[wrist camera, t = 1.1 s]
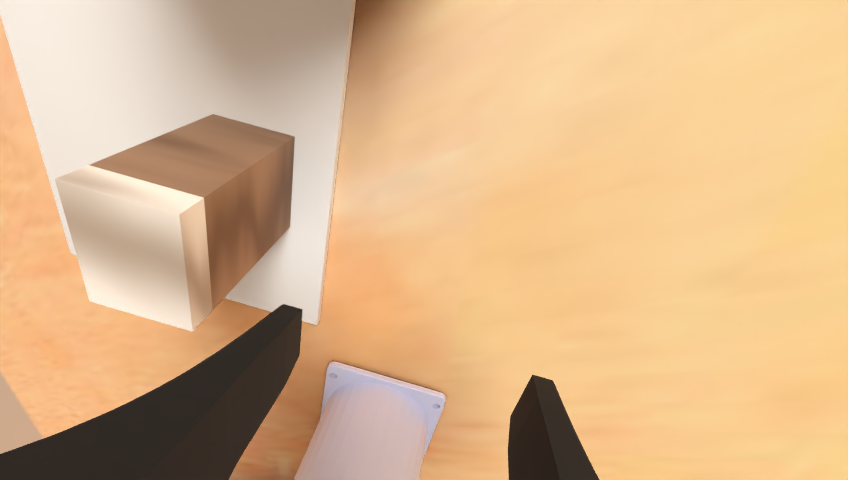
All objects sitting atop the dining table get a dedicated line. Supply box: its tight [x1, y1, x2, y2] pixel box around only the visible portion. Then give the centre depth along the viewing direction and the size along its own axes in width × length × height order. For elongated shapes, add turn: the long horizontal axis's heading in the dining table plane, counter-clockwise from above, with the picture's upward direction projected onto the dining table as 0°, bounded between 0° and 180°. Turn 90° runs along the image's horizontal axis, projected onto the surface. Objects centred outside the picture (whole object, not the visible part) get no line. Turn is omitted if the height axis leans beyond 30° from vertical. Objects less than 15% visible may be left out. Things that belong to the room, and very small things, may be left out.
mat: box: [0, 0, 356, 325], centre depth 21 cm, size 18×16×1 cm
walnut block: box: [55, 114, 295, 332], centre depth 17 cm, size 5×4×8 cm
